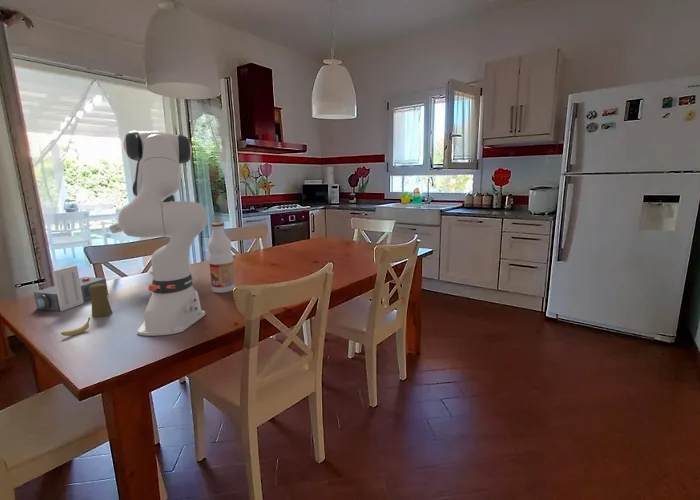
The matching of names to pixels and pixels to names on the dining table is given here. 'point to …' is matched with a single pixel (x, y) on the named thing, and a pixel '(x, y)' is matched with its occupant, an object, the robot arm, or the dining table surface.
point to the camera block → (50, 300)
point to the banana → (77, 330)
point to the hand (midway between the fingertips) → (116, 229)
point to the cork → (99, 301)
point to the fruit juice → (221, 260)
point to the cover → (68, 287)
